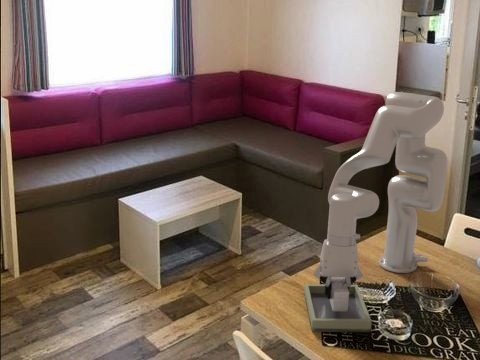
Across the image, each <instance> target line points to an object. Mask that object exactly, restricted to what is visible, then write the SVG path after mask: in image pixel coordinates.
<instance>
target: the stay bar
mask: <svg viewBox="0 0 480 360" xmlns="http://www.w3.org/2000/svg"><path fill="white" fill-rule="evenodd" d="M330 286H331V293H330V303H331V306H332V310H333V311H348V300H349V290H348V287H347V285H346V282H345V277H332V278H331V281H330Z"/></svg>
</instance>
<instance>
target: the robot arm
mask: <svg viewBox="0 0 480 360" xmlns="http://www.w3.org/2000/svg"><path fill="white" fill-rule="evenodd" d="M444 111H445V106H444V102H443V101H442V99H440V97H437V96H433V95H425V94H419V93H413V92H412V93H411V92H402V91H396V92H391V93H389V94H388V95H387V96H386V99H385V105H382V106H380V108H378V110H377V111H376V113H375V116H374V117H373V120H372V122H371V125H370V127H369V130H368V132H367V135H366V137H365V140H364V143H363V146H362V148H361V149H360V150H359V152H356V154H354V155H352V156H351V157H350V158H349V157H348V159H347V160H346V161H345V162H344V163H343V164H341V166H340V167H339V168H337V171H336V173H335V175H334V177H333V179H332V182H331V185H330V187H329V190H328V194H327V195H328V196H327V201H328V204H329V208H328V209H329V210H328V220H327V221H328V222H327V235H326V239H324V240H323V244H322V248H321V252H320V257H319V260H320V261H319V265H317V267H316V268H315V270H313V273H312V274H313V276H314V277H315V278H317V279H319V281H321V282H322V284H325V291H324V293H325V295H327V298H328V299H330V293H331V286H330V281H331V278H332V277H344V279H345V282H346V285H347V287H348V290H349V287H350V286H351V285H353V283H355V282H356V281H357V280H359V279H361V278H363V277H364V274H363V272H362V271H361V269H360V267H359V259H358V257H359V253H358V244H357V240H361V234H359V233H357V232H356V231H357V220H358V219H363V218H368V217H370V216H372V215H374V214H376V211H378V209H379V205H380V199H379V196H378V195H377V193H375V192H374V191H372V190H368V189H365V188H361V187H358V186H355V185H354V186H353V185H350V184H349V183H350V182H349V181H350V180H351V179H352V177H353V176H354V175H356V174H357V173H359V172H361V171H363V170H365V169H366V170H367V169H371V168H374V167H379V166H383V165H386V164H388V163H389V162H390V161H391V158H392V156H393V153H394V151H395V159H394V161H395V162H394V163H395V168H396V170H398V171H399V172H402V173H403V174H402V175H401V174H399V175H395V176H394V177H391V179H390V180H389V182H388V186H387V196H388V197H387V198H388V212H387V213H388V214H387V222H386V223H387V225H386V231H385V232H386V233H385V243H384V252H383V255H381V256H380V257H379V259H378V265H380V267H381V268H383V269H385V270H387V271H389V272H392V273H398V274H408V273H413V272H414V271H416V270H417V268H418V263H420V262H421V263H428V261H429V260H428V259H429V257H428V256H426V255H425V256H424V255H423V256H422V253H415V245H416V244H415V243H416V237H417V228H418V214H417V211H416V209H418V210H422V211H427V212H437V211H438V210H440V208H441V207H442V204H443V202H444V196H445V189H446V181H447V173H448V171H447V170H448V157H447V153H445V152H444V151H443V150H442V149H440V148H435V147H431V146H426V135H427V133H428V132H429V131H431V130H433V128H434V127H435V126H437V125H438V124H439V122H440V121H441V120H442V117H443V116H444ZM404 173H405V174H407V175H404ZM410 175H411V176H410ZM414 176H415V177H414ZM416 176H418V177H416ZM419 177H422V178H419ZM423 178H425V179H423Z"/></svg>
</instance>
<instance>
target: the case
mask: <svg viewBox="0 0 480 360" xmlns="http://www.w3.org/2000/svg"><path fill="white" fill-rule="evenodd" d="M324 291H325V284H324V283H322V284H321V283H318V284H317V283H316V284H315V283H313V284H312V283H311V284H310V283H304V290H303V292H304V293H303V295H304V300H305V305H306V311H307V316H308V319H309V325H310V329H311V332H312V333H314V332H319V333H321V332H322V333H324V332H325V333H327V332H328V333H329V332H330V333H331V332H332V333H371V330H372V319H371V316H370V314H369V311H368V309H367V305H366V303H365V301H364V298H363V295H362V294H361V293H362V292H361V290H360V288H359V285H358V284H351V286H350V287H349V300H348V311H333V310H332V306H331V303H330V299H328V298H327V295H325V293H324Z"/></svg>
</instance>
